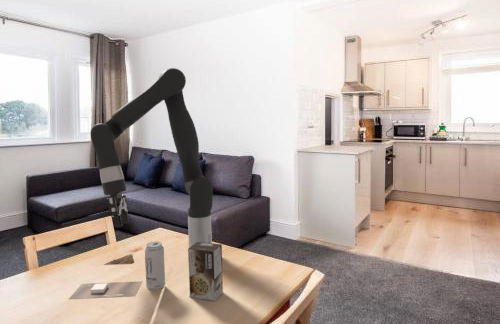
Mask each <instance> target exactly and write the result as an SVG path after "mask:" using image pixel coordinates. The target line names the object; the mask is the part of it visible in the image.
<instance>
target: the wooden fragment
mask: <svg viewBox="0 0 500 324" xmlns="http://www.w3.org/2000/svg"><path fill="white" fill-rule="evenodd" d="M133 256H134V255H133V254H132V253H129V254H128V255H127V254H126V255H124V256H122V257H120V258H116V259H113V260H111V261H109V262H107V263H105V264H103V266H112V265H114V266H115V265H132V264H133V263H135V259H134V258H133Z"/></svg>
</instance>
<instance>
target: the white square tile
mask: <svg viewBox="0 0 500 324" xmlns="http://www.w3.org/2000/svg"><path fill="white" fill-rule="evenodd" d="M103 283H104V284H95V285H94V286H93V287H92V289H91V293H104V292H105V290H106V289H107V287H108V283H109V282H103Z"/></svg>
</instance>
